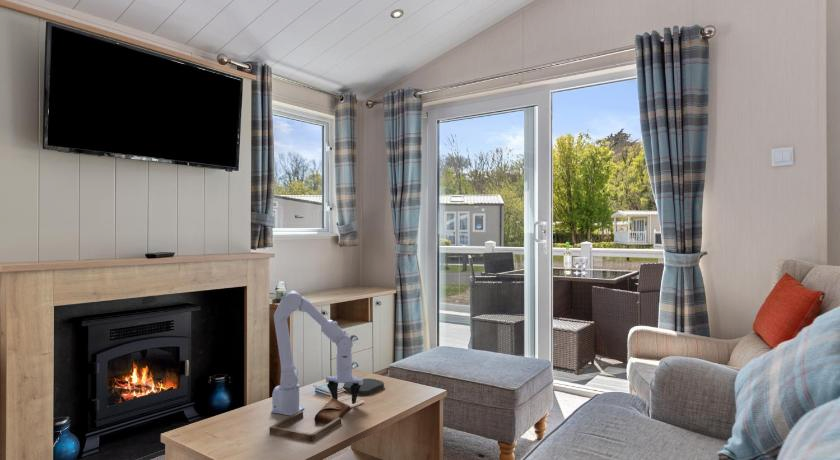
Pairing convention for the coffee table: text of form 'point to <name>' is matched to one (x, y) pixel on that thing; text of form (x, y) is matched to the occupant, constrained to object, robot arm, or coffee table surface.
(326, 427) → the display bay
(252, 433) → the coffee table surface
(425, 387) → the coffee table surface
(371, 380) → the media streaming box
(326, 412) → the sunglasses case
